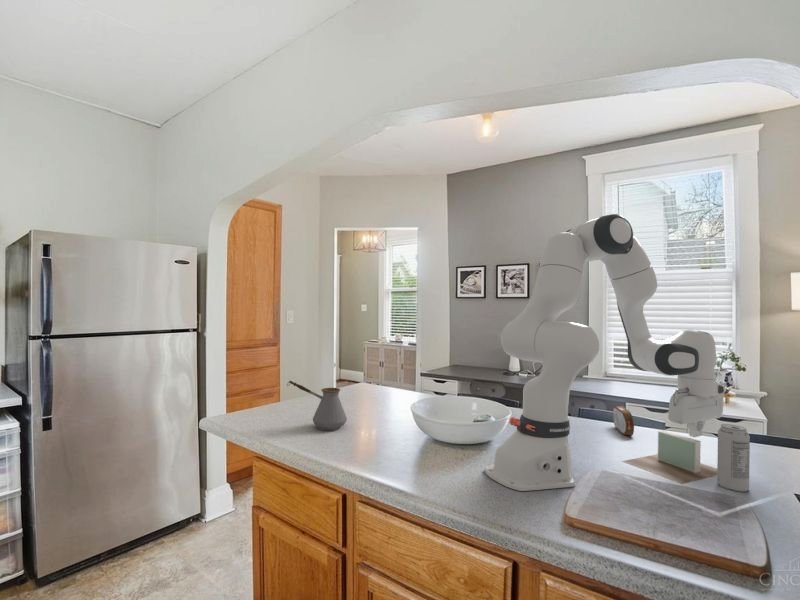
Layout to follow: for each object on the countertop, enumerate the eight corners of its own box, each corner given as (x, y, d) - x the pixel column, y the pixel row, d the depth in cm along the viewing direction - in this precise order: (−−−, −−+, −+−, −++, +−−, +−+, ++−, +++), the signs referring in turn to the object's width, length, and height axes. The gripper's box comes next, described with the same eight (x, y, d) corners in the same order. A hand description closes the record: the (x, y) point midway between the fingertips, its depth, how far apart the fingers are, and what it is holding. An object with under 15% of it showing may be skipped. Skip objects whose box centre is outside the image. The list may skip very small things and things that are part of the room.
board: (682, 486, 101) (682, 483, 101) (621, 463, 116) (621, 461, 116) (728, 474, 110) (728, 472, 110) (666, 454, 124) (666, 452, 124)
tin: (634, 438, 139) (635, 413, 140) (624, 438, 140) (625, 412, 140) (620, 426, 154) (620, 403, 154) (611, 425, 155) (611, 403, 155)
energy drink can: (734, 484, 103) (735, 423, 104) (756, 495, 97) (756, 430, 98) (710, 484, 103) (711, 423, 103) (730, 494, 97) (731, 430, 97)
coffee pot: (350, 424, 146) (351, 381, 146) (341, 433, 135) (342, 387, 135) (292, 419, 149) (294, 377, 150) (278, 428, 138) (280, 383, 138)
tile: (694, 472, 108) (695, 442, 109) (656, 459, 117) (657, 431, 118) (700, 471, 109) (700, 441, 110) (662, 458, 118) (662, 430, 119)
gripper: (686, 391, 110) (685, 444, 110) (728, 386, 119) (727, 435, 119) (662, 387, 116) (661, 437, 116) (704, 383, 125) (703, 429, 125)
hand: (695, 436), depth 118 cm, fingers closed
